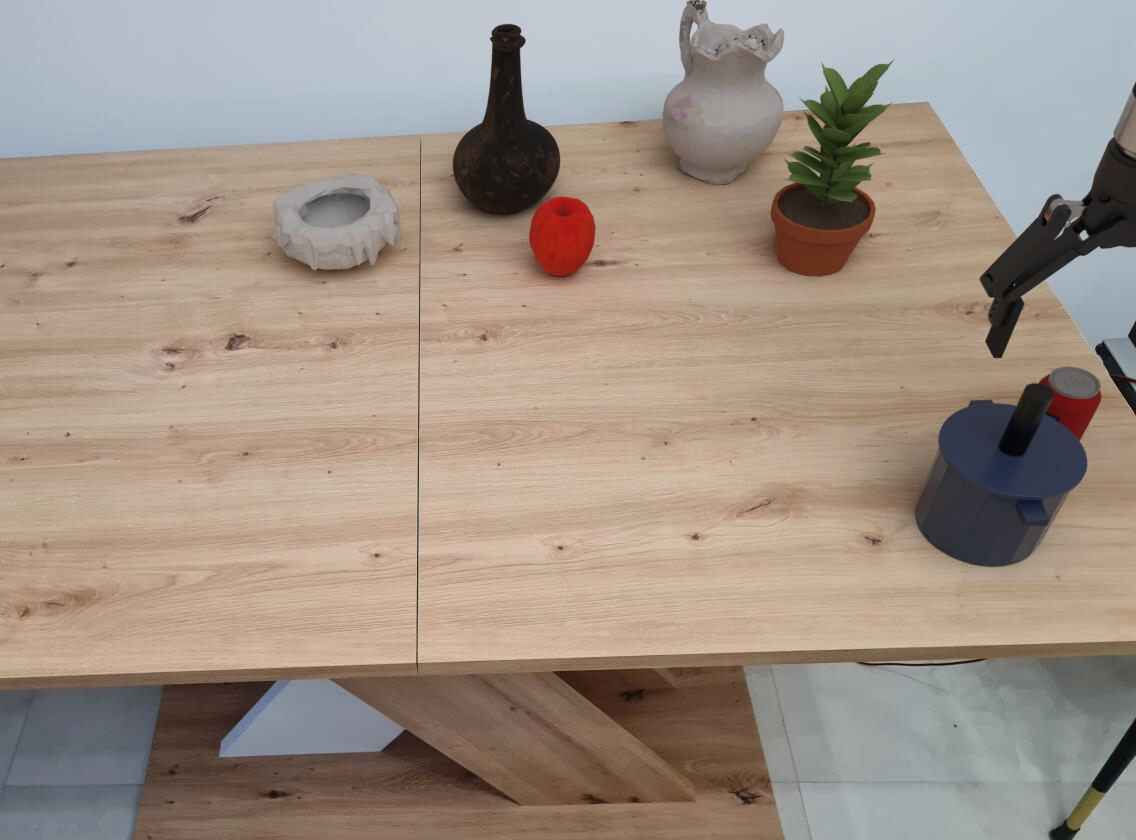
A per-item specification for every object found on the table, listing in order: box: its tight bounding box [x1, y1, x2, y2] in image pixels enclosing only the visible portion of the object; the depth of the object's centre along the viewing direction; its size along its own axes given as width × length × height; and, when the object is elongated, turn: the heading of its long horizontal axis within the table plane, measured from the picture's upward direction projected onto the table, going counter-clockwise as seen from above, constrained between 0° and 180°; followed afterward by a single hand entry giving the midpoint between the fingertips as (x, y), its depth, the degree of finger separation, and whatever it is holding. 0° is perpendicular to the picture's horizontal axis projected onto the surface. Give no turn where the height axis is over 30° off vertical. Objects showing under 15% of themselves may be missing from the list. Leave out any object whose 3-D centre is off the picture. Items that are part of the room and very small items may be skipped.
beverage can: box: [1038, 366, 1102, 442], centre depth 125 cm, size 7×7×12 cm
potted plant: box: [770, 59, 895, 277], centre depth 149 cm, size 15×15×30 cm
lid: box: [937, 382, 1088, 500], centre depth 112 cm, size 15×15×9 cm
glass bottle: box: [452, 23, 561, 214], centre depth 168 cm, size 18×18×28 cm
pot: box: [914, 399, 1071, 568], centre depth 119 cm, size 14×19×12 cm
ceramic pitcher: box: [662, 0, 785, 186], centre depth 172 cm, size 22×20×25 cm
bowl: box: [272, 171, 401, 271], centre depth 167 cm, size 21×20×10 cm
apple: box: [528, 196, 597, 277], centre depth 158 cm, size 10×10×12 cm
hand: (1064, 347), depth 104 cm, fingers open, 13 cm apart
